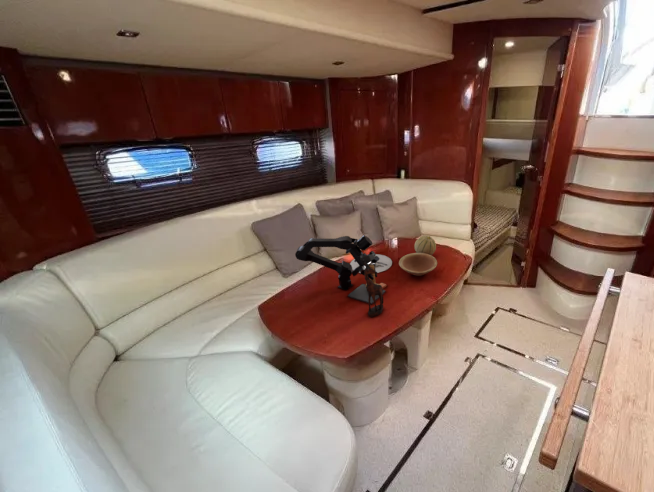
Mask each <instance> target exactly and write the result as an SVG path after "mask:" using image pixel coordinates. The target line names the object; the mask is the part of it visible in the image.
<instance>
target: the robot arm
mask: <svg viewBox="0 0 654 492" xmlns="http://www.w3.org/2000/svg"><path fill="white" fill-rule="evenodd" d="M372 245H373V242H372V240H371V239H370V238H369V237H368V236H366V235H365V234H363V235H362V236H361V237H360V238H354V237H351V236H349V235H344V236H339V237H336V238H315V237H311V238H309V239H308V240H307V241H306V242H305V243H304V244H303V245H300V246H298V247H297V249H296V251H295V253H294V255H295V258H296V259H297V261H302V262H312V263H315V264H317V265H319V266H323V267H325V268H327V269H331V270H333V271H335V272H336V273H337V274H338V284H339V285H338V286H337V288H338V289H341V290H344V291H347V290H349V289H350V288H351V287H353V286H354V284H352V279H351V276H352V277H356V276H357V275H358V274H359V275H362V276H364V277H365V275H364V271H365V262H366V263H367V264H368V265H371V264H372V265H374V270H375V264H376V262H377V261H378V260H379V259H380V258H379V257H378V256H376V254H377V253H376V252H375V251H374V250H371V251H369V253H368V254H367V253H366V252H364V253H363V251H366V250H367V249H369V248H370V247H371V246H372ZM313 248H337V249H340V250H344V251H345V255H346V254H350V255H351V256H352V258H353V260H354V259H355V261H354V262H357V263H358V264H359V266H358V267H357V268H355V269H354V270H352V266H351V265H350V262H347V261H345V260H342V261H341V262H338V261H335V260H333V259H330V258H327V257H326V256H323V255H321V254H317V253H316V252H314V251H313V250H312V249H313ZM375 271H376V270H375ZM358 272H361V273H358ZM368 277H369V279H372V280H373V279H374V278H373V276H372V275H371V274H368ZM375 278H378V273H377V274H375Z"/></svg>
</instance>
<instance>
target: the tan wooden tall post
mask: <svg viewBox="0 0 654 492" xmlns="http://www.w3.org/2000/svg"><path fill="white" fill-rule="evenodd" d="M369 267H370V268H372V269H373V270H374V265H372V264H371V265H369ZM371 275H372V276H373V278H374V279H373V280H372V279H370V278H369V279H370V280H371V281H372V282H373V283H374V284H377V285H380V283H377V282H376V277H375V274H371ZM365 285H366V286H367V283H365ZM366 289H367V288H366Z"/></svg>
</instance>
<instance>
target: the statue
mask: <svg viewBox="0 0 654 492" xmlns="http://www.w3.org/2000/svg"><path fill="white" fill-rule="evenodd" d="M368 274H377V275H378V273H377V272H376V271H375V270H373V269H372V268H370V267H369V265H368V264H367V263H366V262H365V271H364V275H365V276H364V275H363V276H364V280H365V284H367V286H366V288H367V291H368V295H369V304H368V311H367V314H368V317H370V318H373V317H374V318H375V317H377V316H379V315H381V314H382V313H383V310H384V296H383V295H382V291H383V290H384V288H382V286H381V285H377V284H378V283H377V284H374V283H373V282H372V281H371V280H370V278H369V277H368ZM375 295H379V297H380V298H379V304H377V303H376V301H375ZM371 296H372V299H373V301H374V303H373V304H374V306H372V307H371V304H370V299H371Z"/></svg>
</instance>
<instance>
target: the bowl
mask: <svg viewBox="0 0 654 492" xmlns="http://www.w3.org/2000/svg"><path fill="white" fill-rule="evenodd" d="M398 266H399V267H400V268H401V269H402V270H403V271H405V272H406V273H408V274H410V275H412V276H416V277H421V276H424V275H426V274H429V273H431V272H432V271H433V270H435V269H436V268H437V266H438V260H437V258H436V257H434V256H433V255H429V254H425V253H416V252H412V253H408V254H406V255H403V256H402V257H401V258H400V259H399V261H398Z"/></svg>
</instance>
